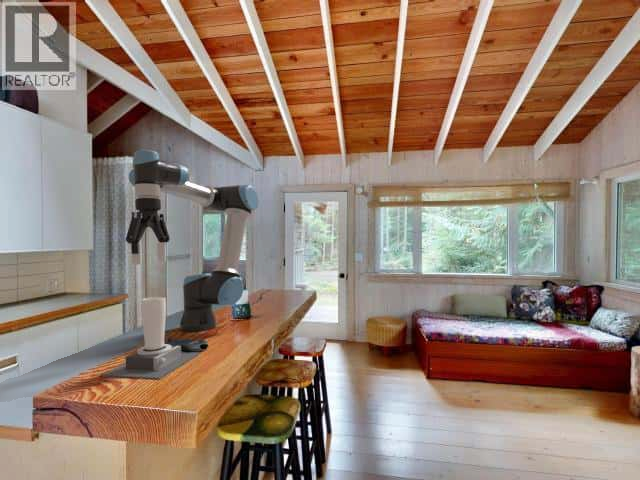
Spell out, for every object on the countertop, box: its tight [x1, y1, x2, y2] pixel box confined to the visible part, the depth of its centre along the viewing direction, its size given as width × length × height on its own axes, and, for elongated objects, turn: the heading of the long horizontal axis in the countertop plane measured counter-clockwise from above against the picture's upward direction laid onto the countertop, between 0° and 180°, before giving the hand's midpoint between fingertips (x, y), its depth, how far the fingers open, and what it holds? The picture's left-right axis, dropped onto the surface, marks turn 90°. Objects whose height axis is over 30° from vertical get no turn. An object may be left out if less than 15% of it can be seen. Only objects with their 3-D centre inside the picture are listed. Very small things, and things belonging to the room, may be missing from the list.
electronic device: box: [164, 337, 209, 353], centre depth 122 cm, size 9×6×15 cm
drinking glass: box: [141, 296, 167, 350], centre depth 107 cm, size 7×7×15 cm
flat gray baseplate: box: [99, 344, 202, 380], centre depth 106 cm, size 22×18×5 cm
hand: (150, 262), depth 116 cm, fingers open, 13 cm apart
